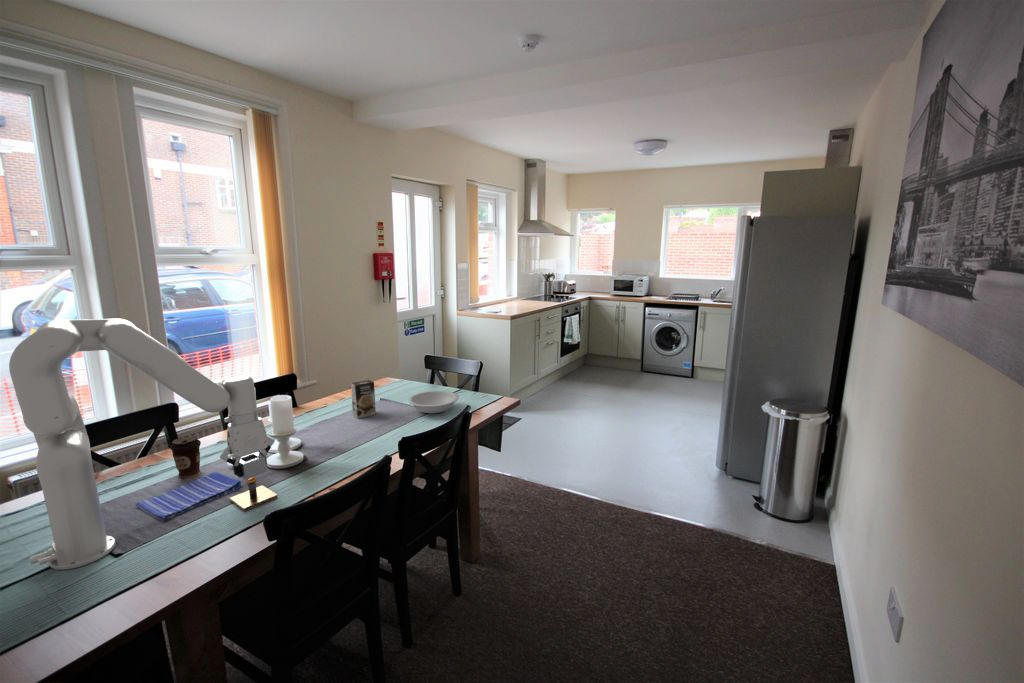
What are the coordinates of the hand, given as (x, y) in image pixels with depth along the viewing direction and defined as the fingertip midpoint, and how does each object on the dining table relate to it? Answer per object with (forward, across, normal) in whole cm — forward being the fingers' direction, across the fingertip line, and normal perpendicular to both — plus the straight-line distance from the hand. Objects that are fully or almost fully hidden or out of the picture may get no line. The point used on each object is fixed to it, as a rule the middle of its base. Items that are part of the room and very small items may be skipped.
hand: (251, 471), depth 144 cm
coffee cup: (+10, -6, +35) cm, 37 cm away
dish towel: (+10, -11, +18) cm, 24 cm away
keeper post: (+9, 0, 0) cm, 9 cm away
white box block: (+1, 0, 0) cm, 1 cm away
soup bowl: (+11, +91, +15) cm, 93 cm away
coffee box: (+10, +67, +37) cm, 77 cm away
